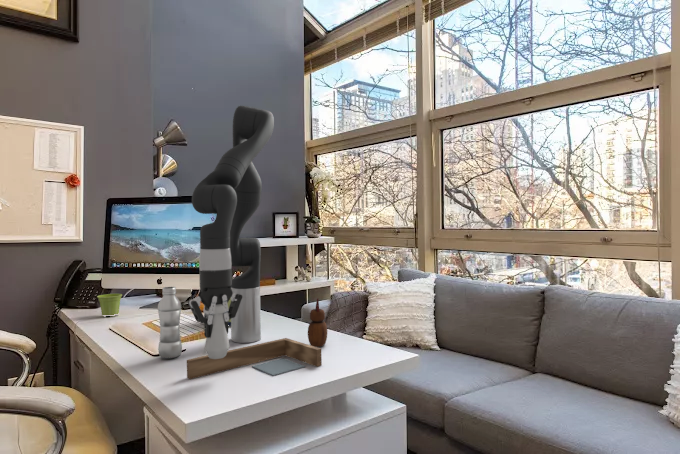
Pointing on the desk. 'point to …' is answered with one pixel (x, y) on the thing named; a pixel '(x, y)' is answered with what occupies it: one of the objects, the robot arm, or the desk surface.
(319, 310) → the wooden figurine
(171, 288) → the plastic bottle
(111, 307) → the plant pot
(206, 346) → the salt shaker
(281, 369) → the pad
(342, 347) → the desk surface
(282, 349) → the wooden l-shaped bracket
